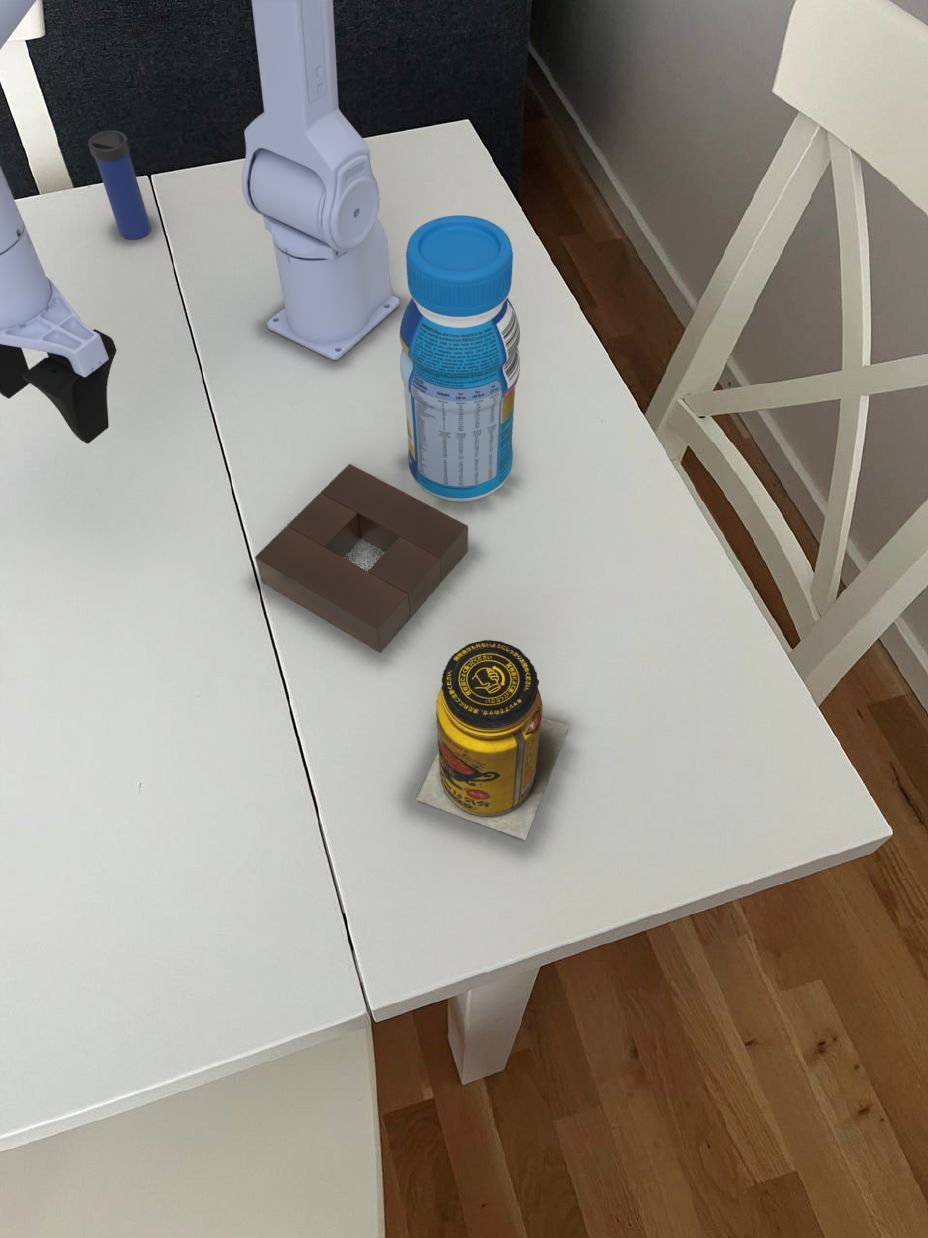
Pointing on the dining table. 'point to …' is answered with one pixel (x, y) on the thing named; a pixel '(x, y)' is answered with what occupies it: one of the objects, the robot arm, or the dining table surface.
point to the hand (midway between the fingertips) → (55, 410)
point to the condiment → (492, 739)
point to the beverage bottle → (459, 357)
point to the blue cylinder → (120, 183)
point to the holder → (345, 592)
